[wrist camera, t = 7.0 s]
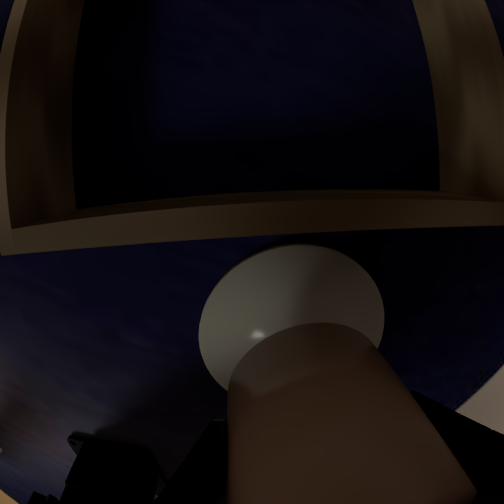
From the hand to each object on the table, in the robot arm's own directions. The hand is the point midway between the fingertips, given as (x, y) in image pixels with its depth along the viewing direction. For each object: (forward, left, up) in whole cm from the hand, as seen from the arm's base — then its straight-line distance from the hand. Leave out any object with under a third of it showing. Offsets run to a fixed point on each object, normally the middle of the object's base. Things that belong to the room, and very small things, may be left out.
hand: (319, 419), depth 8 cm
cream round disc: (0, 0, -5) cm, 5 cm away
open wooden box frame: (+13, +1, -5) cm, 14 cm away
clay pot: (0, 0, -2) cm, 2 cm away
